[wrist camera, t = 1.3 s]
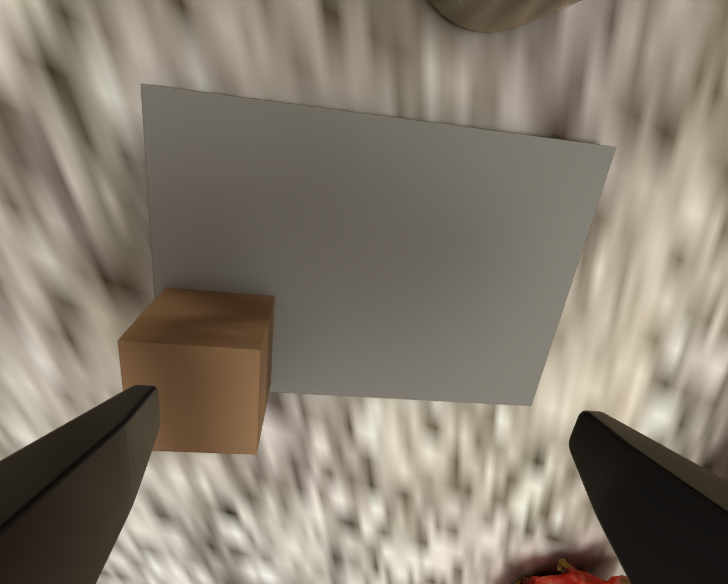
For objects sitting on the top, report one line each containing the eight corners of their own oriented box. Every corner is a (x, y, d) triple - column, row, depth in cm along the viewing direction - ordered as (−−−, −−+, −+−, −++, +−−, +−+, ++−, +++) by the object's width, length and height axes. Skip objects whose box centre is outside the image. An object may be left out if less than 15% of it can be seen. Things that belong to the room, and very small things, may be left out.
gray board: (600, 144, 20) (616, 146, 19) (522, 393, 26) (531, 405, 25) (152, 85, 18) (140, 83, 17) (168, 372, 23) (160, 386, 22)
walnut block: (275, 296, 21) (260, 349, 16) (270, 383, 23) (256, 454, 18) (165, 287, 20) (117, 340, 16) (170, 378, 22) (129, 450, 17)
